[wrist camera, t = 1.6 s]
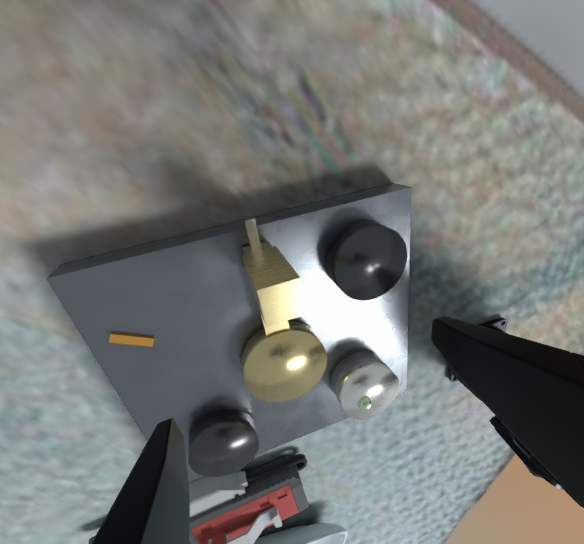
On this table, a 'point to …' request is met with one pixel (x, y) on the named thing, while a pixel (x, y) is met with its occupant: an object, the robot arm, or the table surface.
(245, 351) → the brass knob
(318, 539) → the salad plate
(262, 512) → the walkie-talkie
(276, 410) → the instrument base
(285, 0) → the table surface
